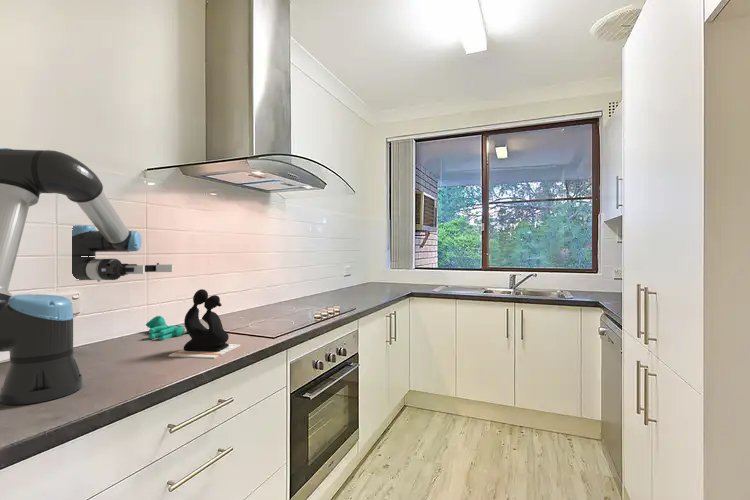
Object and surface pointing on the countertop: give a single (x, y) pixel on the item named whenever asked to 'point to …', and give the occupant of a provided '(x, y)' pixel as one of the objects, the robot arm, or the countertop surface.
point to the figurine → (201, 335)
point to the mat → (203, 352)
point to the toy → (163, 329)
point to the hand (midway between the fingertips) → (159, 268)
